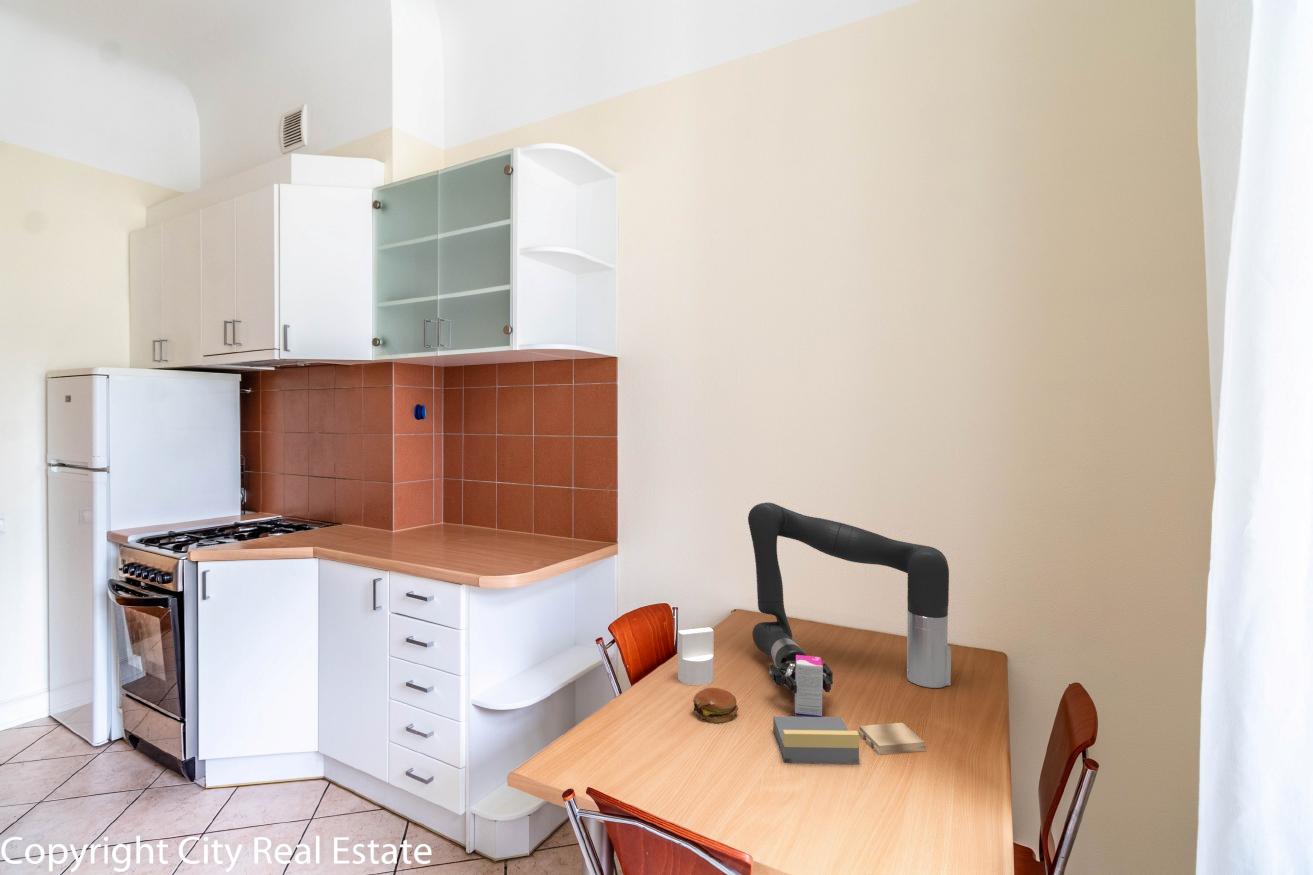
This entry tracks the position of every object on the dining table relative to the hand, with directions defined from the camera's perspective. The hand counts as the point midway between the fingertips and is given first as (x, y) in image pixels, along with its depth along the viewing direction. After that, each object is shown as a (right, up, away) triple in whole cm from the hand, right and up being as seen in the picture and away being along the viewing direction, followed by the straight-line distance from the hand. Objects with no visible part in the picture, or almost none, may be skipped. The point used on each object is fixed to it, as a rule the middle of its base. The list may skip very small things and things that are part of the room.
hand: (811, 688), depth 130 cm
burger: (-21, -7, +2) cm, 22 cm away
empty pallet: (+13, -7, -10) cm, 18 cm away
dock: (-3, -7, -12) cm, 14 cm away
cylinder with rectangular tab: (-24, -6, +21) cm, 32 cm away
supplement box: (0, -6, +2) cm, 7 cm away
